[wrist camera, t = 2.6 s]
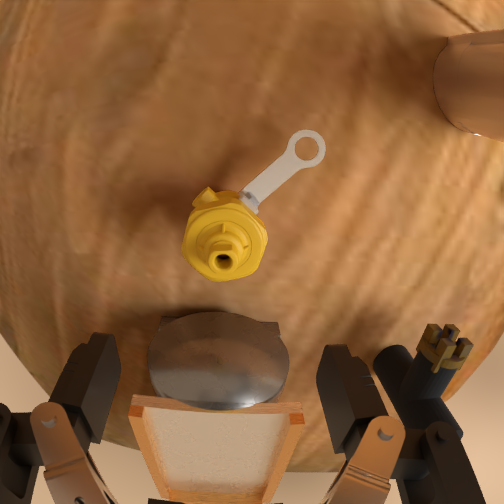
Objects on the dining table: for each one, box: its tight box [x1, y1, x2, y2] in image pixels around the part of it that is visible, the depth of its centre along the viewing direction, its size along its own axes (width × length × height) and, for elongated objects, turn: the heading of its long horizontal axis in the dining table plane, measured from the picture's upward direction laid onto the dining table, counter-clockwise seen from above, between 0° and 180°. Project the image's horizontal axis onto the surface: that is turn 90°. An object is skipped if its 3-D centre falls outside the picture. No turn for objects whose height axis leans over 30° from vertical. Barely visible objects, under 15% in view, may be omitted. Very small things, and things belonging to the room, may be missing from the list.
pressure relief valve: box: [181, 129, 326, 282], centre depth 21 cm, size 6×12×10 cm, turn 132°
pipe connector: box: [373, 324, 473, 440], centre depth 28 cm, size 12×5×15 cm, turn 170°
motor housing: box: [128, 312, 305, 504], centre depth 29 cm, size 18×12×14 cm, turn 175°
